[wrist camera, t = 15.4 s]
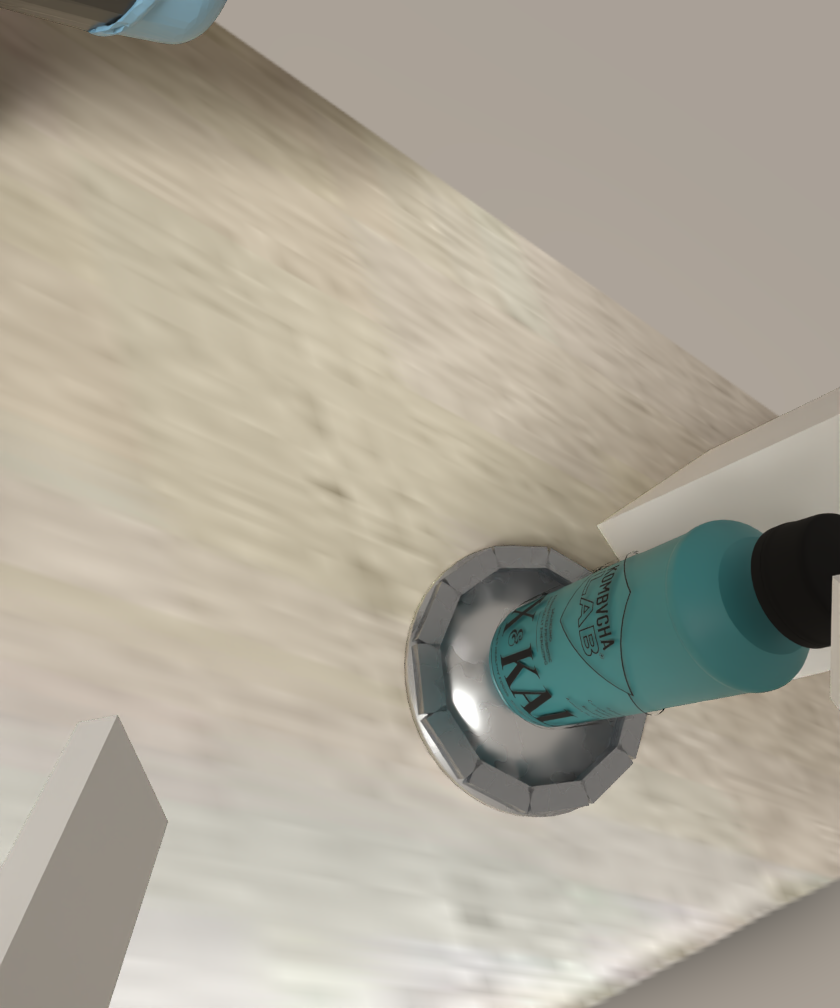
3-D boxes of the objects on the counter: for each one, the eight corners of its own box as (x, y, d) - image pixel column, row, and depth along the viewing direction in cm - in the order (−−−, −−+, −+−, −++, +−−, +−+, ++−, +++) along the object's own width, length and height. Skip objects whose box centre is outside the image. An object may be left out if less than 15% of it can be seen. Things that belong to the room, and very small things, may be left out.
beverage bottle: (567, 607, 43) (893, 469, 26) (589, 731, 41) (960, 669, 24) (461, 610, 41) (747, 458, 24) (478, 743, 39) (808, 681, 22)
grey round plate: (351, 632, 39) (360, 627, 38) (540, 506, 46) (552, 498, 45) (510, 879, 38) (524, 882, 36) (679, 711, 45) (694, 709, 43)
